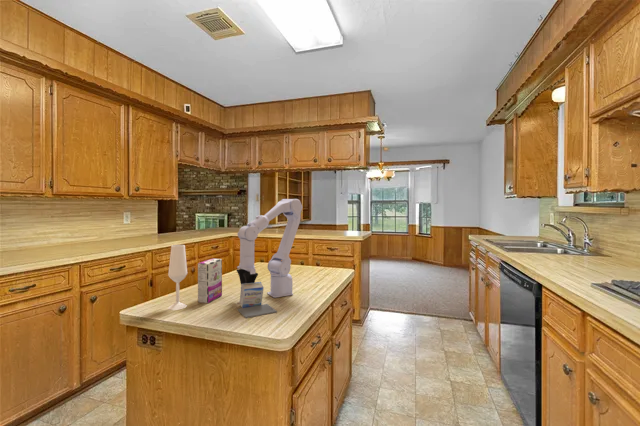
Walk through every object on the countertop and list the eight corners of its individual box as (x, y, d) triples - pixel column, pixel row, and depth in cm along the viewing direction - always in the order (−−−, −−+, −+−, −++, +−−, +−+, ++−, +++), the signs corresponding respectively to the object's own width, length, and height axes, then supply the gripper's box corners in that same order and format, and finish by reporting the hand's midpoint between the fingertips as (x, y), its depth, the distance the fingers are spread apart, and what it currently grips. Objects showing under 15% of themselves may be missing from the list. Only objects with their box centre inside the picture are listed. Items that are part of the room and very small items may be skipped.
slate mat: (267, 305, 120) (267, 303, 120) (276, 312, 112) (276, 311, 112) (237, 310, 113) (237, 308, 113) (245, 318, 105) (245, 316, 105)
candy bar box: (212, 294, 132) (212, 258, 131) (222, 295, 131) (222, 258, 130) (196, 302, 121) (197, 262, 120) (207, 303, 120) (208, 263, 119)
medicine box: (241, 308, 115) (243, 289, 112) (239, 301, 119) (241, 283, 116) (261, 305, 119) (264, 287, 116) (258, 299, 122) (260, 281, 120)
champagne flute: (183, 303, 120) (183, 244, 120) (189, 307, 115) (190, 245, 115) (165, 306, 115) (166, 245, 115) (171, 311, 111) (171, 247, 110)
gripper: (232, 253, 126) (232, 285, 126) (243, 258, 114) (242, 293, 114) (248, 252, 130) (248, 283, 130) (260, 257, 118) (260, 291, 118)
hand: (246, 288), depth 122 cm, fingers open, 7 cm apart
